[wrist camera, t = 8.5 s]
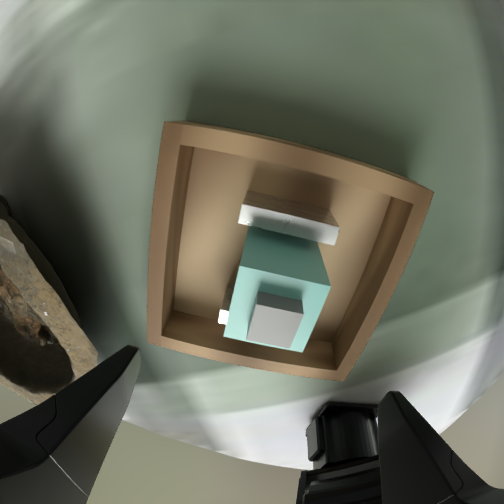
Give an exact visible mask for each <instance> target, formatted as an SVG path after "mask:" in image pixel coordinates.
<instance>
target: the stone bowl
mask: <svg viewBox="0 0 504 504" xmlns="http://www.w3.org/2000/svg"><path fill="white" fill-rule="evenodd" d="M47 341H49V342H51V343H53V344H47ZM97 356H98V352H97V350H96V349H95V347H94V346H93V344H92V343H91V341H90V340H89V339H88V337H87V336H86V335H85V333H84V332H83V327H82V324H81V321H80V318H79V316H78V314H77V312H76V309H75V307H74V305H73V303H72V302H71V300H70V298H69V296H68V294H67V292H66V290H65V288H64V286H63V284H62V282H61V280H60V278H59V277H58V276H57V275H56V273H55V271H54V270H53V267H52V265H51V264H50V262H48V260H47V259H46V257H45V256H44V255H43V254H42V252H41V251H40V250H39V248H38V247H37V245H36V244H35V243H34V242H33V241H32V240H31V239H30V238H29V237H28V236H27V234H26V233H25V231H24V229H23V228H22V227H20V226H19V224H18V222H16V221H15V220H13V219H12V218H11V213H10V209H9V208H8V206H7V203H6V201H5V199H4V198H3V196H2V195H0V383H1V384H3V385H4V386H6V387H7V388H9V389H10V390H12V391H14V392H15V393H16V394H18V395H19V396H21V397H23V398H25V399H27V400H28V401H29V402H31V403H33V404H35V405H39V404H40V403H42V402H43V401H45V400H47V399H48V398H50V397H51V396H53V395H56V393H57V392H59V391H60V390H62V389H63V388H65V387H66V386H68V385H69V384H70V383H72V382H73V381H75V380H76V379H78V378H79V377H81V376H82V375H84V374H85V373H87V372H88V371H90V370H91V369H93V368H94V367H96V366H97V365H98V362H97Z"/></svg>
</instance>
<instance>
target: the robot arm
mask: <svg viewBox="0 0 504 504" xmlns="http://www.w3.org/2000/svg"><path fill="white" fill-rule="evenodd" d="M140 367H141V357H140V349H139V348H138V347H136V346H132V345H127V346H125V347H124V348H122V349H121V350H119V351H118V352H116V353H115V354H113V355H112V356H110V357H109V358H107V359H106V360H105V361H103V362H102V363H100V364H99V365H97V366H96V367H94V368H93V369H91V370H90V371H88V372H87V373H85V374H84V375H82V376H81V377H79V378H78V379H76V380H75V381H73V382H72V383H70V384H69V385H68V386H66V387H65V388H63V389H62V390H60V391H59V392H57V393H56V395H53V396H51V397H50V398H48V399H47V400H45V401H43V402H42V403H40V404H39V405H37V406H35V407H33V408H32V409H30V410H28V411H26V412H24V413H22V414H20V415H18V416H16V417H14V418H12V419H10V420H8V421H6V422H4V423H2V424H0V504H86V502H87V500H88V497H89V495H90V492H91V489H92V487H93V485H94V482H95V480H96V477H97V475H98V473H99V471H100V468H101V466H102V463H103V461H104V459H105V456H106V454H107V452H108V449H109V447H110V445H111V443H112V440H113V438H114V436H115V433H116V431H117V429H118V427H119V425H120V422H121V420H122V418H123V416H124V414H125V412H126V409H127V407H128V404H129V401H130V398H131V395H132V392H133V389H134V386H135V383H136V380H137V377H138V374H139V371H140ZM377 416H378V426H377V421H376V418H377ZM306 437H307V442H308V459H309V461H313V469H314V470H310V471H308V470H305V471H301V477H300V479H299V486H298V493H297V500H296V504H504V489H498V488H494V487H491V486H489V485H488V484H487V483H486V482H485V481H483V480H482V479H481V478H480V477H479V476H478V475H477V474H476V473H475V472H474V471H473V470H471V469H470V468H469V467H468V466H467V465H466V464H465V463H464V462H463V461H462V460H461V459H460V457H458V455H457V454H456V453H455V452H454V451H453V450H451V448H450V447H449V445H448V444H447V443H445V441H444V440H443V439H442V438H441V436H440V435H439V434H438V433H437V432H436V431H435V430H434V429H433V428H432V427H431V425H430V424H429V423H428V422H427V421H426V420H425V419H424V418H423V417H422V415H421V414H420V413H419V412H418V411H417V410H416V409H415V408H414V407H413V406H412V405H411V403H410V402H409V401H408V400H407V399H406V398H405V397H404V396H403V395H402V394H401V393H400V392H399V391H389V392H388V393H387V394H386V396H385V397H384V398H383V399H382V401H381V402H380V403H379V405H365V404H348V403H334V402H329V403H326V404H325V405H324V407H323V408H322V410H321V411H320V413H319V414H318V416H317V417H315V418H314V420H313V421H312V423H311V424H310V426H309V427H308V428H307V431H306Z"/></svg>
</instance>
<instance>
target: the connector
mask: <svg viewBox="0 0 504 504" xmlns="http://www.w3.org/2000/svg"><path fill="white" fill-rule="evenodd" d="M330 288H331V284H330V281H329V278H328V274H327V271H326V268H325V265H324V261H323V258H322V255H321V252H320V249H319V246H318V243H317V241H313V240H309V239H305V238H301V237H296V236H292V235H288V234H284V233H279V232H275V231H271V230H266V229H262V228H257V227H253V226H249V228H248V232H247V236H246V240H245V245H244V249H243V253H242V257H241V262H240V266H239V270H238V275H237V279H236V283H235V288H234V292H233V296H232V301H231V305H230V309H229V314H228V318H227V322H226V327H225V331H224V337H228V338H232V339H237V340H241V341H246V342H251V343H256V344H261V345H266V346H271V347H276V348H281V349H286V350H292V351H298V352H303V350H304V348H305V346H306V344H307V341H308V339H309V337H310V335H311V333H312V330H313V328H314V326H315V324H316V321H317V319H318V317H319V314H320V312H321V310H322V307H323V305H324V302H325V300H326V298H327V295H328V293H329V290H330Z"/></svg>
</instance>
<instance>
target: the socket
mask: <svg viewBox="0 0 504 504" xmlns="http://www.w3.org/2000/svg"><path fill="white" fill-rule="evenodd" d="M238 223H240V224H244V225H249V226H253V227H257V228H262V229H266V230H271V231H275V232H279V233H284V234H288V235H292V236H296V237H301V238H305V239H309V240H313V241H317V242H321V243H326V244H330V245H335V242H336V239H337V236H338V233H339V230H340V226H339V225H338V223H337V221H336V219H335V218H334V216H333V214H332V213H331V211H330V210H327V209H324V208H320V207H316V206H312V205H308V204H304V203H300V202H296V201H292V200H288V199H284V198H280V197H275V196H271V195H267V194H262V193H258V192H254V191H249V190H247V192H246V195H245V198H244V200H243V203H242V207H241V211H240V216H239V221H238ZM234 288H235V285H233V284H227V288H226V291H225V295H224V299H223V302H222V306H221V310H220V315H219V320H218V323H221V324H226V322H227V318H228V314H229V309H230V305H231V301H232V296H233V292H234Z"/></svg>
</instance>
